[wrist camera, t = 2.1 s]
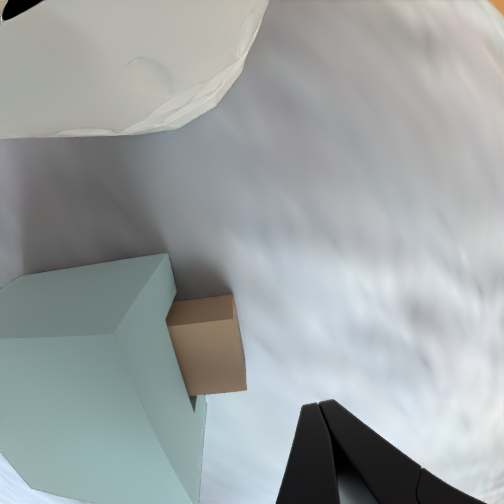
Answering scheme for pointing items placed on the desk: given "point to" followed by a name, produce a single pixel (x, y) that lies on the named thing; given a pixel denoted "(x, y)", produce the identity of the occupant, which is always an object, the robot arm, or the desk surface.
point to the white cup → (118, 63)
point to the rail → (208, 344)
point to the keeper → (98, 386)
